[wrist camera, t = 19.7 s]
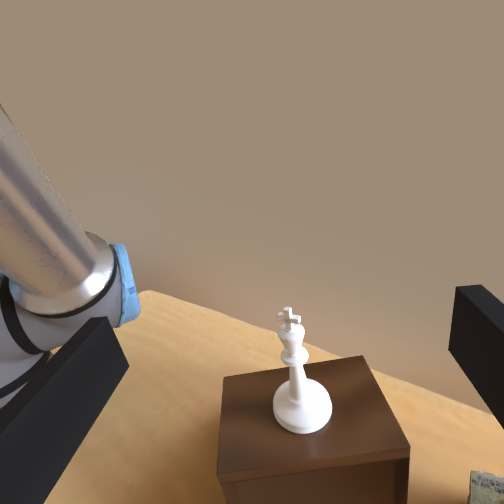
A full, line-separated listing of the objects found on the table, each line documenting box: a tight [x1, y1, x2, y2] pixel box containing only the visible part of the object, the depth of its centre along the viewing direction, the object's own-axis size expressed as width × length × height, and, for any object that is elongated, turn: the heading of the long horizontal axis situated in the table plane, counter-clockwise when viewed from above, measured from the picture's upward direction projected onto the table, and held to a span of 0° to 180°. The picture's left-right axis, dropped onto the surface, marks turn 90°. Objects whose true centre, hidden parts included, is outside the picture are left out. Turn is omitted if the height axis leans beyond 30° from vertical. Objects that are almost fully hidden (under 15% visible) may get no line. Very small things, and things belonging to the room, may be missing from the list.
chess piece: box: [273, 307, 332, 434], centre depth 23 cm, size 5×5×10 cm
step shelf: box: [217, 355, 410, 504], centre depth 30 cm, size 14×14×12 cm
